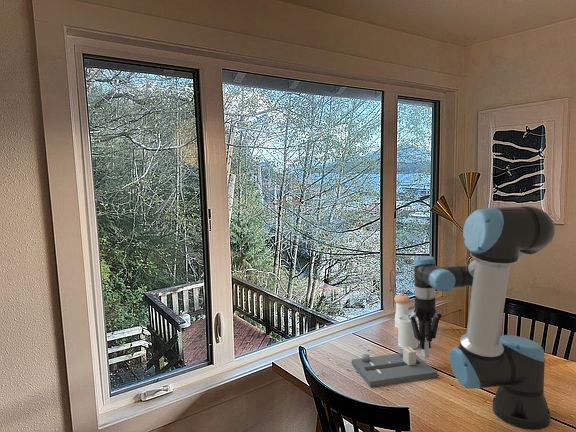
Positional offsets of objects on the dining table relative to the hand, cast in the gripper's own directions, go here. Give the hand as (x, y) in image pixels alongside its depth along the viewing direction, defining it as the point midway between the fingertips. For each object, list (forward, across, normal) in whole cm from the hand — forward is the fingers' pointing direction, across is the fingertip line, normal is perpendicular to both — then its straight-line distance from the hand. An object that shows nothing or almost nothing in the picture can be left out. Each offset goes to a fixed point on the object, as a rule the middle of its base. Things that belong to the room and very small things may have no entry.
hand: (425, 356), depth 154 cm
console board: (+4, +14, 0) cm, 14 cm away
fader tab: (+1, +7, 0) cm, 7 cm away
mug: (+4, -4, -18) cm, 19 cm away
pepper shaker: (+4, -7, -32) cm, 33 cm away
